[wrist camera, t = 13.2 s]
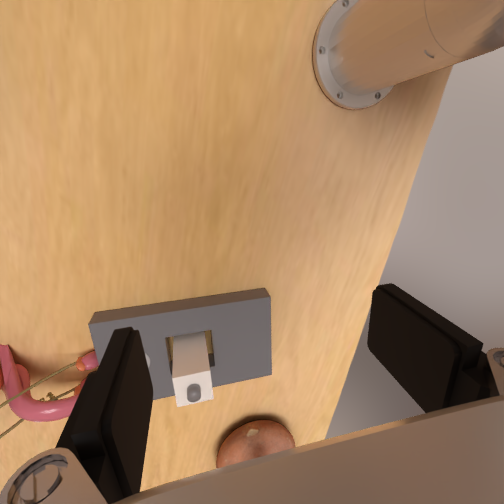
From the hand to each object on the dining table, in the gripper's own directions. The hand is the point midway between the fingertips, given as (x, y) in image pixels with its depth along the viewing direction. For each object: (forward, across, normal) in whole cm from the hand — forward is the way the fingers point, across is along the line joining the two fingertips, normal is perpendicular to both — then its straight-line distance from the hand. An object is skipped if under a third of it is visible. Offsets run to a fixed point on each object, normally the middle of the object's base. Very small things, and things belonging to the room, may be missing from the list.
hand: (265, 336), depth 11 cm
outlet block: (+28, +6, +20) cm, 35 cm away
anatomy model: (+28, +26, +20) cm, 42 cm away
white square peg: (+28, +6, +20) cm, 35 cm away
